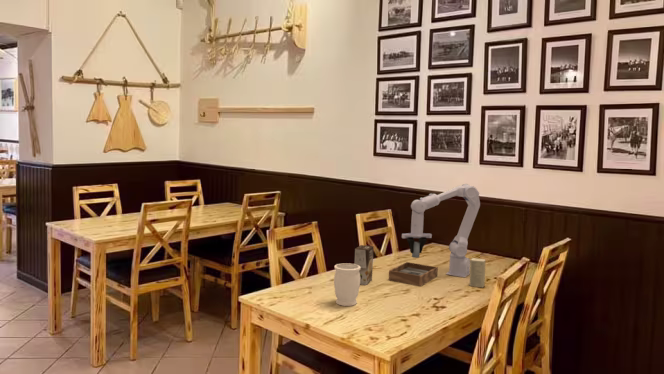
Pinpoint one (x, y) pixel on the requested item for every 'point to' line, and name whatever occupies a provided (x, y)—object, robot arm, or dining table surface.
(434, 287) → the dining table surface
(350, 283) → the jar
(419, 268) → the box
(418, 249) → the peg
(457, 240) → the robot arm
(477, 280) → the skincare box
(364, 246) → the coffee box
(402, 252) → the dining table surface
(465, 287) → the dining table surface
